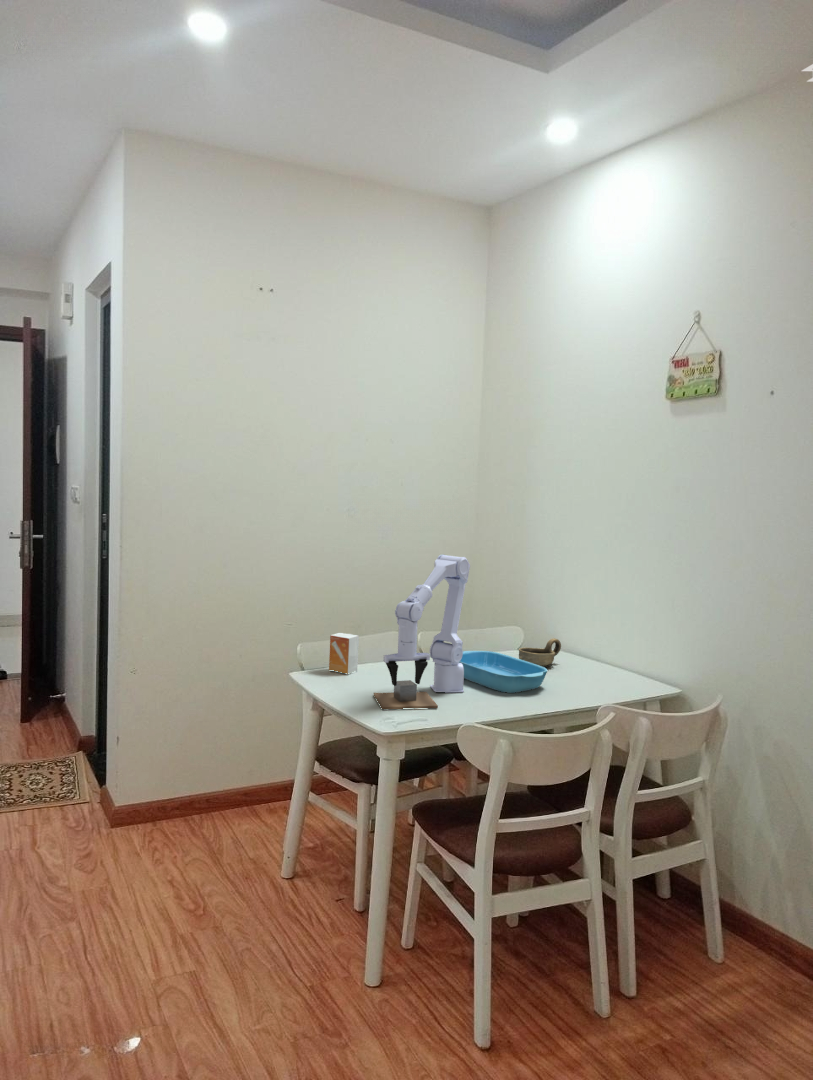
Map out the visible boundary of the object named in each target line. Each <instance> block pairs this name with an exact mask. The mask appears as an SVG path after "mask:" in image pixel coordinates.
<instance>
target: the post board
mask: <svg viewBox="0 0 813 1080" xmlns="http://www.w3.org/2000/svg"><path fill="white" fill-rule="evenodd" d="M374 696H375V697H374ZM373 697H374V699H375V698H376V699H377V701H378V702H377V701H376V702H377V704H378V703H379V704H380V706H381V707H380V706H379V707H380V709H381V708H382V709H403V708H439V705H438V704H437V702H435V700H434V699H433V698H432V697H431V696H430V694H429V693H428V692H427V691H417V695H416V701H406V702H399V701H398V700H397V699H395V698H394V691H393V692H373ZM376 699H375V700H376ZM379 704H378V705H379ZM382 709H381V710H382Z"/></svg>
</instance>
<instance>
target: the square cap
mask: <svg viewBox="0 0 813 1080" xmlns="http://www.w3.org/2000/svg"><path fill="white" fill-rule="evenodd" d="M417 686H418V684H417V683H415V681H412V680H410V679H409V680H407V679H405V680H397V685H396V686H394V685H393V692H394V698H395V699H397V700H398V701H399V702H406V701H416V695H417V692H418V691H417V690H418V689H417V688H418V687H417Z"/></svg>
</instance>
